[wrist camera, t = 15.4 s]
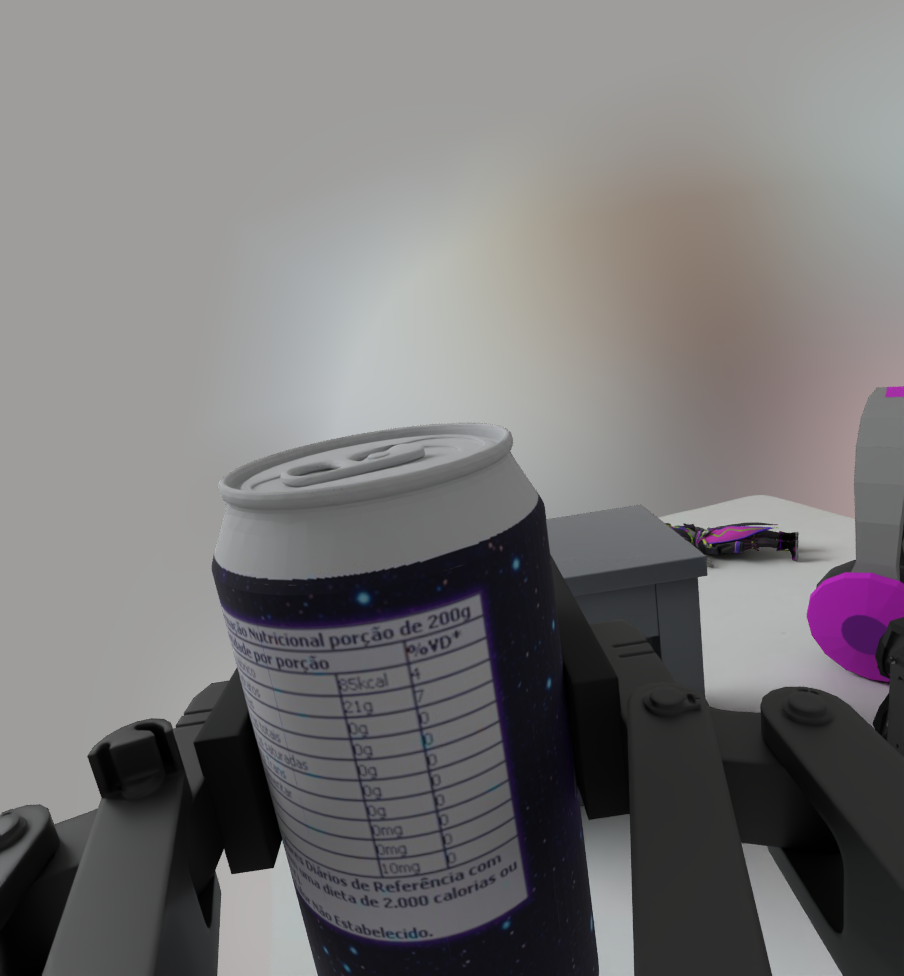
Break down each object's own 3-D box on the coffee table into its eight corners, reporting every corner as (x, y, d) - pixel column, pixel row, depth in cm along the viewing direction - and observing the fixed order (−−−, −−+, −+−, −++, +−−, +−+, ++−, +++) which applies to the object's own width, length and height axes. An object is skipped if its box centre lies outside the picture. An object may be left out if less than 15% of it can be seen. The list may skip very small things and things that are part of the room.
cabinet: (446, 832, 37) (403, 603, 34) (443, 723, 48) (410, 540, 44) (720, 789, 37) (706, 555, 34) (656, 690, 48) (641, 504, 44)
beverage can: (664, 1028, 12) (611, 427, 9) (402, 1253, 10) (218, 531, 7) (505, 841, 17) (438, 413, 14) (306, 959, 15) (176, 469, 12)
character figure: (797, 543, 71) (654, 535, 79) (798, 513, 70) (653, 507, 78) (797, 576, 63) (639, 563, 71) (798, 542, 62) (637, 532, 70)
